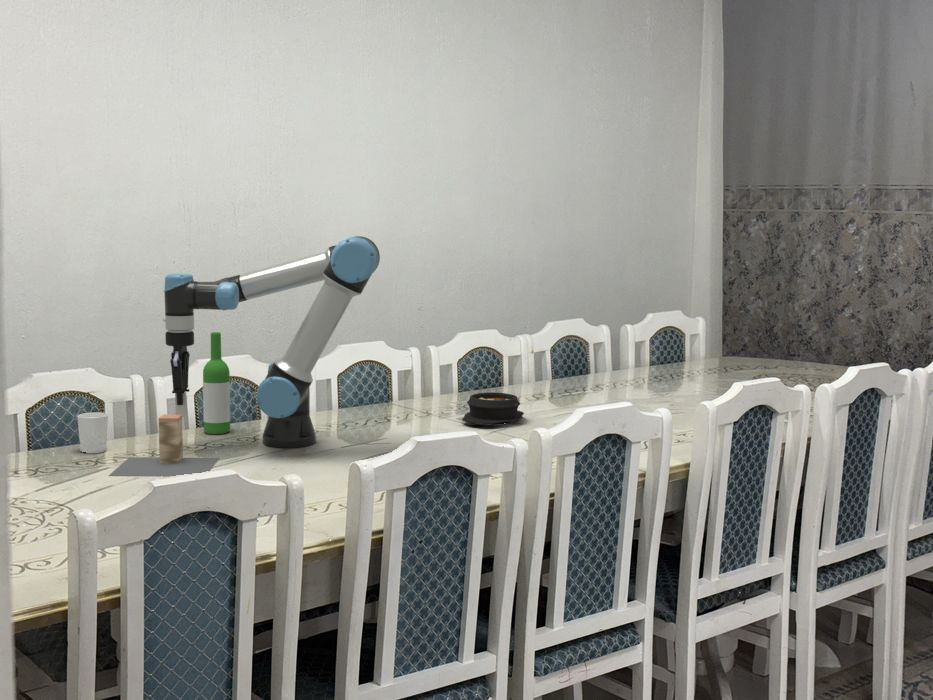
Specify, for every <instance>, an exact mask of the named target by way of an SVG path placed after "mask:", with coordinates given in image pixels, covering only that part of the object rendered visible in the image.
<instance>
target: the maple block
mask: <svg viewBox="0 0 933 700" xmlns="http://www.w3.org/2000/svg"><path fill="white" fill-rule="evenodd" d="M183 437H184V436H183V417H182V415H176V414H165V413H164V414H162V415H160V416H159V417H158V448H159V449H158V450H159V451H158V452H159V453H158V455H159V456H158V457H159V462H160V463H180V462H181V461H182V459H183V458H184V447H183V446H184V443H183V441H184V439H183Z"/></svg>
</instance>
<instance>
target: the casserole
mask: <svg viewBox="0 0 933 700" xmlns="http://www.w3.org/2000/svg"><path fill="white" fill-rule="evenodd" d="M466 403H467V405H468V409H469V412H466V413H465V414H464V416H463V417H462V418H461V420H462V421H463V422H466V423H469V424H470V423H471V424H478V425H485V424H504V423H509V424H511V423H510V422H512V423H513V422H516V421H520V420H521V419H522V418H523V415H524V414H525V412H523V411H521V410H518V408H519V406H520V405H521V402H520V401H519V400H518V396H517V395H515V394H512V393H511V394H510V393H507V392H491V391H490V392H479V393H473V394H471V395H470V397H469V399H468V400H467V402H466ZM504 425H505V424H504Z"/></svg>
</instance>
